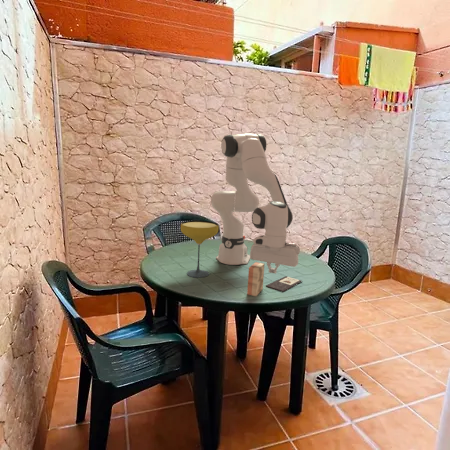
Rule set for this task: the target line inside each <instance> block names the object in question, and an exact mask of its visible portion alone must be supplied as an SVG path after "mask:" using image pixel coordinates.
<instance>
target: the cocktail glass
mask: <svg viewBox="0 0 450 450" xmlns="http://www.w3.org/2000/svg"><path fill="white" fill-rule="evenodd" d="M219 228H220V227H219V224H218V223H217V222H214V221H209V220H198V219H196V220H185V221H182V222H181V223H180V232H181V234H183V235H184V236H186V237H188V238H189V239H192V240H193V241H194V242H195V243H196V244H197V245H198V247H197V251H198V252H197V265H196V266H197V267H196V269H192V270H191V269H190V270H188V271H187V273H186V275H187V276H188V277H191V278H195V279H196V278H197V279H198V278H200V279H201V278H206V277H208V276H209V275H210V272H208V271H207V270H203V269H200V247H201V246H200V245H202V244H203V243H204V242H205V241H206V240H208V239H211V238H213V237H214V236H217V234H218V233H219V231H220V230H219Z"/></svg>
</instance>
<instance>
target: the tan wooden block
mask: <svg viewBox="0 0 450 450" xmlns="http://www.w3.org/2000/svg"><path fill="white" fill-rule="evenodd" d="M264 273H265V262H263V263H262V262H260V261H258V262H257V261H255V262H254V263H253V264H251V266H249V267H248V276H247V277H248V279H247V289H246V291H247V292H246V295H249V296H253V297H258V295H259V294H260V293H261V292H262V291H263V289H264V276H265V274H264Z"/></svg>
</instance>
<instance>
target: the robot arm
mask: <svg viewBox="0 0 450 450" xmlns="http://www.w3.org/2000/svg"><path fill="white" fill-rule="evenodd" d="M220 145H221V146H220V147H221V148H220V149H221V152H222V154H223V156H225V157H226V162H225V163H226V164H225V181H226V183H227V184H228V185H230V186H232V187H234V188H235V189H236V190H219V191H215V192H214V193H213V194H212V195H211V198H210V204H211V207H212V208H213V209H214V210H215V211H216V212H217V213H218V215H219V216H220V217H221V221H222V235H221V243H220V244H219V247H218V255H217V256H215V259H216V260H217V261H219V263H222V264H225V265H231V266H232V265H234V266H235V265H237V266H239V265H248V264H249V262H250V261H251V260H252V261H258V262H263V263H265V262H266V266H267V268H268V273H270V274H275V275H276V274H277V270H278V269H279V267H280V265H281V266H288V267H293V268H295V267H297V266H298V264H299V255H300V252H301V251H300V250H301V248H300V246H299V245H297V243H290V242H287V234H288V233H287V228H289V227H290V225H291V224H292V222H293V216H294V215H293V213H292V210H291V209H290V207H289V205H288V203H287V200H286V197H285V194H284V191H283V188H282V186H281V183H280V181H279V179H278V176H277V175H276V173H274V171H272V169H271V168H270V166H269V164H268V161H267V156H266V150H267V138H266V137H265V135H263V134H261V133H255V134H254V133H238V134H227V135H225V136H223V137H222V139H221V144H220ZM248 180H249V181H250V182H252V183H254V184H257V185H259V186H261V187H263V188H265V189H266V190H267V191H268V192H269V195H270V197H271V201H269V202H268V203H267V204H266V205H264V206H259V204H260V200H259V197H258V195H257V194H256V193H255V192H254V191H253V190H252V189H251V188H250V185H249V183H248ZM235 212H236V213H250V212H252V214H251V223H252V225H253V226H254V227H255V228H256V229H260V230H265V233H264V235H258V236H257V237H255V238H253V240H252V243H253V244H252V245H251V247H250V251H249V250H248V247H247V246H246V244H245V239H246V235H244V226H245V224H244V222H243V221H242V220H241V219H240V218H238V217H236V216H235V215H234V213H235ZM248 251H249V253H248ZM272 264H275V267H272Z"/></svg>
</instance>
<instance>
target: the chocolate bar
mask: <svg viewBox="0 0 450 450" xmlns="http://www.w3.org/2000/svg"><path fill="white" fill-rule="evenodd" d="M301 281H302V280H299V279H297V278H294V277H290V276H288V275H287V276H283V277H281V278H279V279H277V280H275V281H272V282H271V283H268V284H266V285H265V287H266V288H269V289H273V290H276V291H279V292H281V291H282V292H281V293H284V292H286V291H288V290H290V289H292V288H294V287H295V286H294V285H296V284H298V283H299V282H301ZM301 283H302V282H301ZM299 284H300V283H299ZM299 284H298V285H299ZM293 286H294V287H293ZM296 286H297V285H296ZM291 287H292V288H291ZM289 288H290V289H289ZM287 289H288V290H287Z"/></svg>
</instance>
